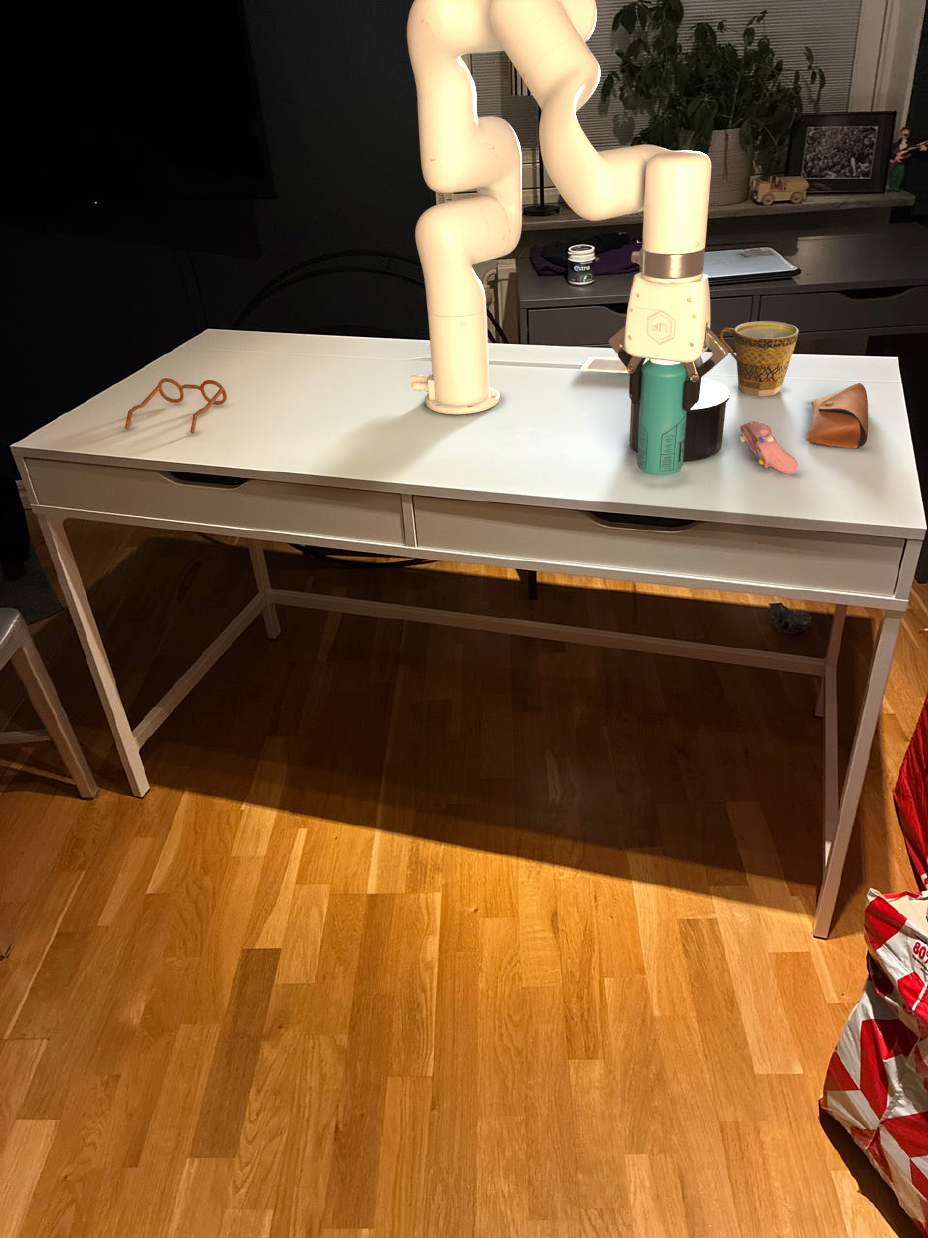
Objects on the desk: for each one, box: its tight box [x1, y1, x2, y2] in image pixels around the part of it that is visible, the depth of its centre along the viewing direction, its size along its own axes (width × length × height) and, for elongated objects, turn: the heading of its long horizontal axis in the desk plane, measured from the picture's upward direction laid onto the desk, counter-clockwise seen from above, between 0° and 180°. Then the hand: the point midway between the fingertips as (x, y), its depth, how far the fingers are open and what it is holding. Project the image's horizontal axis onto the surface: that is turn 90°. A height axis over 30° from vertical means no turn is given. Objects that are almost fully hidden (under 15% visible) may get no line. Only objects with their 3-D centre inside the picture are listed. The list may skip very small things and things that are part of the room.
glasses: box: [124, 377, 228, 434], centre depth 160 cm, size 13×13×5 cm
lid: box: [628, 377, 731, 413], centre depth 135 cm, size 14×14×4 cm
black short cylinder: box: [629, 402, 727, 463], centre depth 138 cm, size 13×13×8 cm
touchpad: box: [579, 356, 649, 374], centre depth 168 cm, size 8×15×2 cm, turn 70°
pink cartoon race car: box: [739, 418, 799, 475], centre depth 131 cm, size 10×5×7 cm, turn 5°
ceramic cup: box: [719, 320, 800, 397], centre depth 155 cm, size 13×10×10 cm
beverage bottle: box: [635, 358, 689, 477], centre depth 125 cm, size 6×7×20 cm
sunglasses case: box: [805, 382, 869, 450], centre depth 142 cm, size 18×7×7 cm
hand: (663, 402), depth 125 cm, fingers closed on beverage bottle, 6 cm apart
